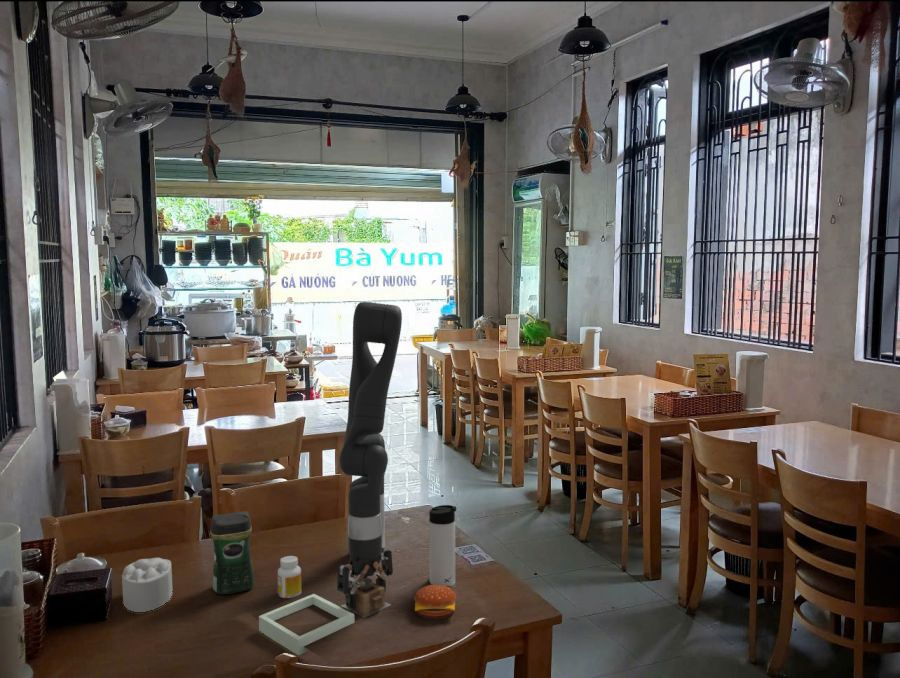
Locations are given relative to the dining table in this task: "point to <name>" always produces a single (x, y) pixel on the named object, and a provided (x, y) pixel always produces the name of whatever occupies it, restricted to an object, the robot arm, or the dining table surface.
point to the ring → (370, 599)
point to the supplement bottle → (289, 577)
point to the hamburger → (435, 602)
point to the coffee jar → (232, 553)
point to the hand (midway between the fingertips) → (366, 601)
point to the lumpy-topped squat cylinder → (147, 584)
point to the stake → (365, 587)
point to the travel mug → (442, 545)
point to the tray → (298, 642)
